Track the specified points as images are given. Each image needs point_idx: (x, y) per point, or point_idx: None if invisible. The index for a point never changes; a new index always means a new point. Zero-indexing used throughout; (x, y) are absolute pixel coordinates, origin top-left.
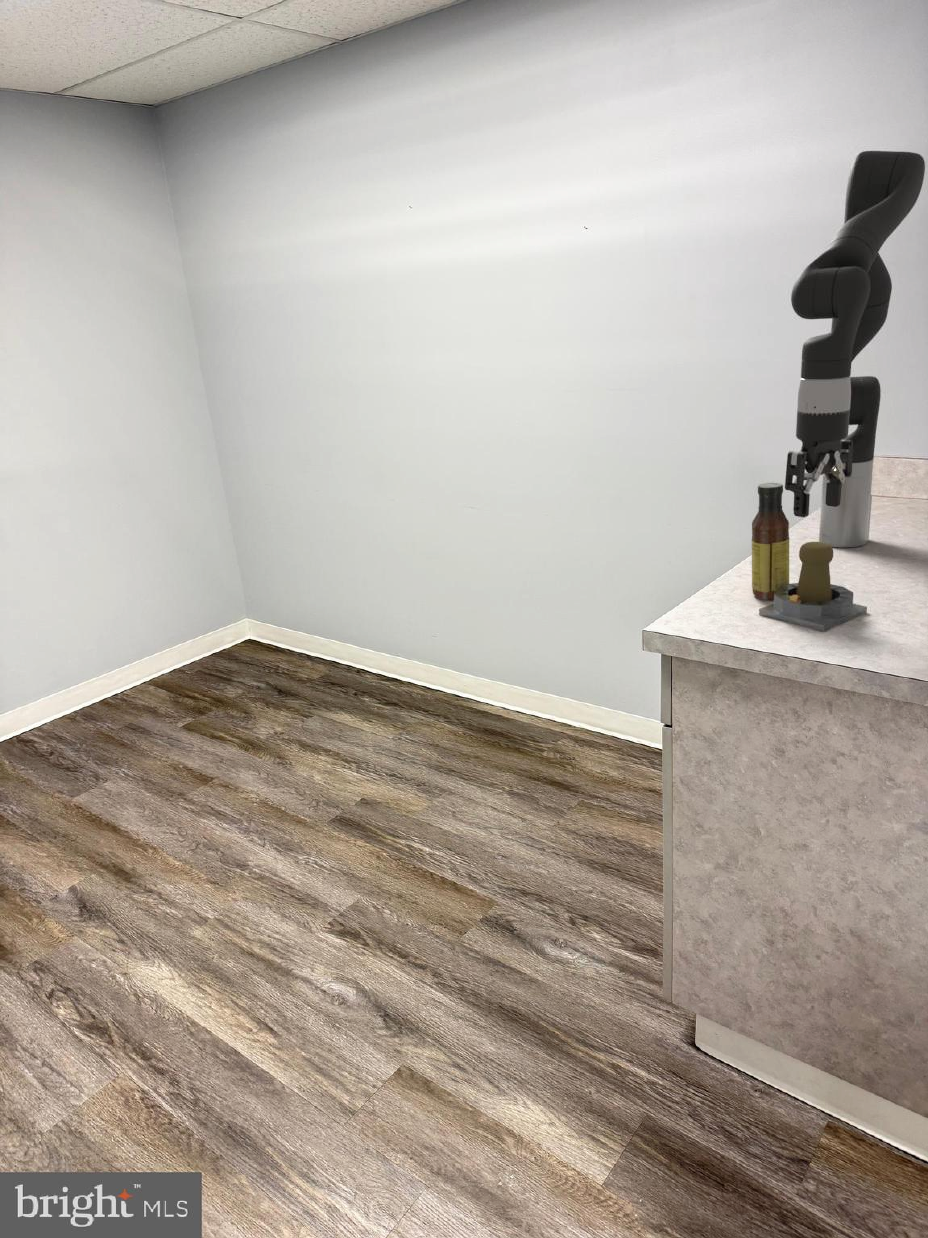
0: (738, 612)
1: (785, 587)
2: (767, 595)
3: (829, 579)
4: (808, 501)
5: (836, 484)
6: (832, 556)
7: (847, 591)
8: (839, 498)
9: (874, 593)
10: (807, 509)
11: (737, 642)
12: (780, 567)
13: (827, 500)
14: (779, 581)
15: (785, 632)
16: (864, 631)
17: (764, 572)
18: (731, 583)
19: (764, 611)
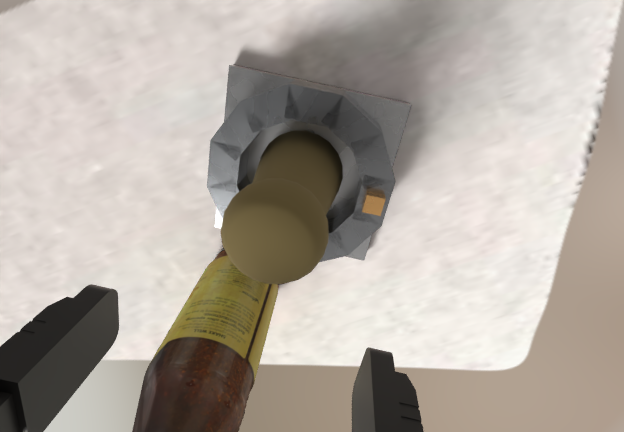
0: (368, 288)
1: None
2: None
3: (283, 161)
4: (383, 416)
5: (23, 395)
6: (269, 180)
7: (239, 118)
8: (76, 308)
9: (99, 98)
10: (387, 376)
11: (543, 232)
12: (245, 295)
13: (102, 348)
14: None
15: (446, 173)
16: (363, 18)
17: (269, 314)
18: None
19: (367, 248)
